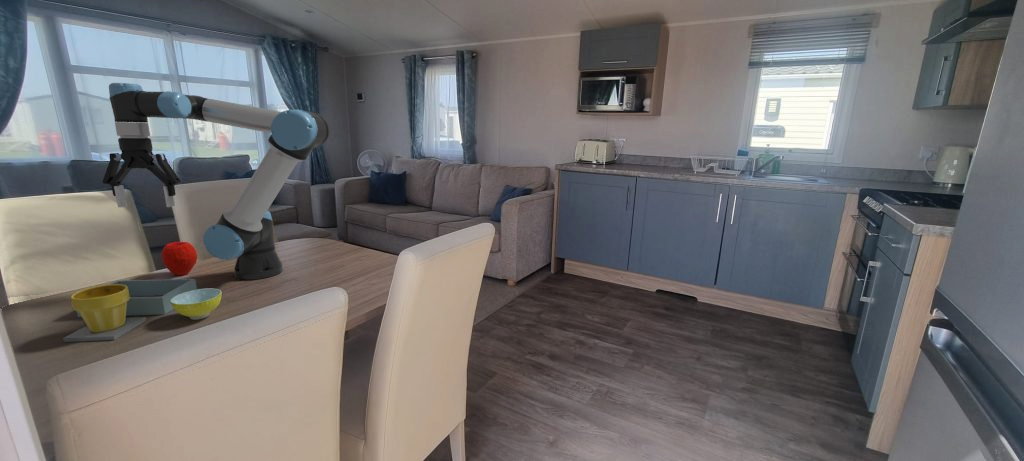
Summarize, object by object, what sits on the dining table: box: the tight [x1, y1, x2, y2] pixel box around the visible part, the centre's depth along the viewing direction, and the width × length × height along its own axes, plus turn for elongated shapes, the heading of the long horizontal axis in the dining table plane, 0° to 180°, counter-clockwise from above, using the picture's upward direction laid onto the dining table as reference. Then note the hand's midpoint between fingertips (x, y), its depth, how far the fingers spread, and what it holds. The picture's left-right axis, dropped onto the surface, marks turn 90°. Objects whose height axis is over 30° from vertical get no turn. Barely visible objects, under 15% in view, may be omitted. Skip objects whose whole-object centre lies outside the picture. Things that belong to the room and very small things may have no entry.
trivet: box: [62, 316, 147, 343], centre depth 107 cm, size 11×11×1 cm
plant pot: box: [70, 283, 131, 332], centre depth 106 cm, size 10×10×10 cm
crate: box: [76, 278, 198, 318], centre depth 123 cm, size 22×15×5 cm
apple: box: [161, 241, 198, 276], centre depth 148 cm, size 10×10×12 cm
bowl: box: [171, 287, 223, 321], centre depth 116 cm, size 11×12×6 cm
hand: (146, 206), depth 131 cm, fingers open, 13 cm apart
